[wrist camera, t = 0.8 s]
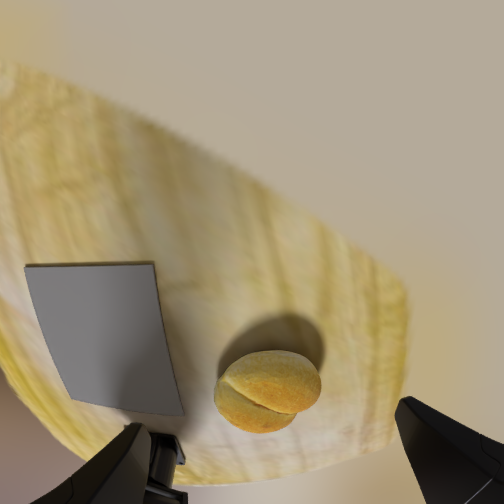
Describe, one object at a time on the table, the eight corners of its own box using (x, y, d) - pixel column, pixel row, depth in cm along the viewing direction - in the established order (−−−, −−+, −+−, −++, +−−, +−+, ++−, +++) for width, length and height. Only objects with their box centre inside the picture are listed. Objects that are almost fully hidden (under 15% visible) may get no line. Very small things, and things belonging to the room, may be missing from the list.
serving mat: (184, 414, 24) (184, 416, 24) (72, 397, 24) (71, 398, 23) (153, 264, 20) (152, 265, 19) (25, 266, 19) (23, 267, 19)
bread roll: (334, 367, 22) (347, 399, 18) (271, 420, 24) (274, 451, 20) (259, 326, 20) (262, 360, 17) (199, 390, 23) (194, 423, 19)
